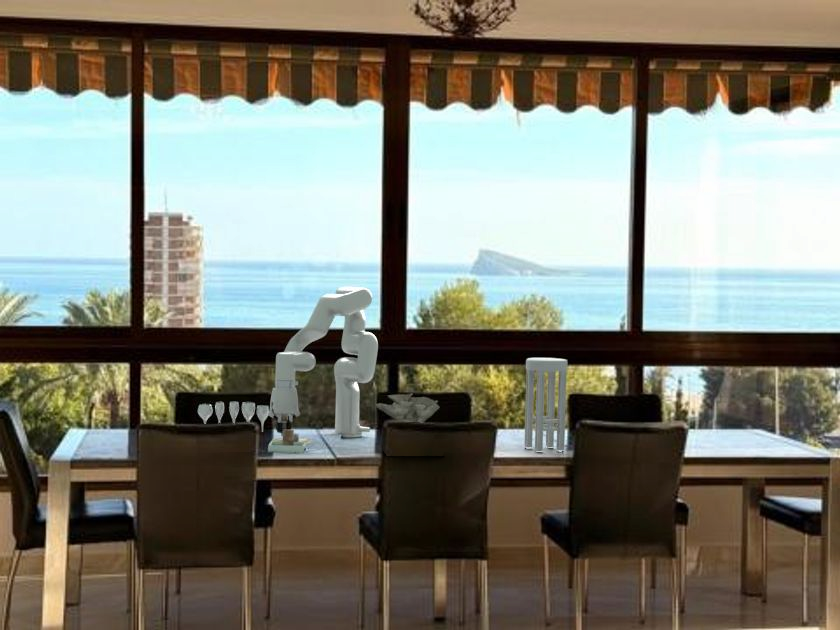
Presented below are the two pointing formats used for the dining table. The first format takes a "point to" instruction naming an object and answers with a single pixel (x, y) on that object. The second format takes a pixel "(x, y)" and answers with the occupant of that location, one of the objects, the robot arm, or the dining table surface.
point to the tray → (286, 447)
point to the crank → (284, 426)
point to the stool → (551, 367)
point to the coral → (409, 408)
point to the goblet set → (234, 411)
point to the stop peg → (288, 437)
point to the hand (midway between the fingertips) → (283, 431)
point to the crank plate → (299, 440)
